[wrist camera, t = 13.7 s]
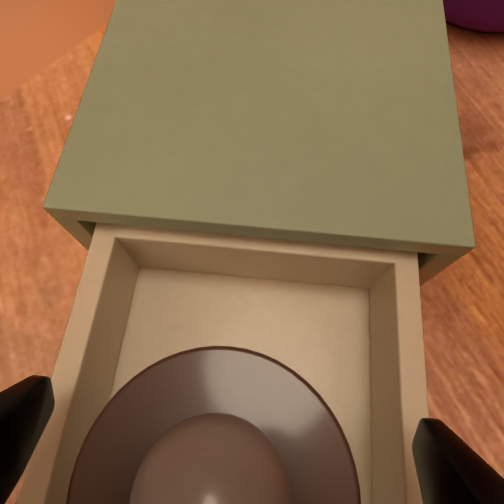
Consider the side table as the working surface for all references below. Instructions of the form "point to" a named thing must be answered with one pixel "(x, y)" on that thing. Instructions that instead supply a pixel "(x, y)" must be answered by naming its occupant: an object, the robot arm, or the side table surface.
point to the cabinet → (272, 126)
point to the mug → (476, 14)
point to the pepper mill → (215, 437)
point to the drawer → (246, 338)
